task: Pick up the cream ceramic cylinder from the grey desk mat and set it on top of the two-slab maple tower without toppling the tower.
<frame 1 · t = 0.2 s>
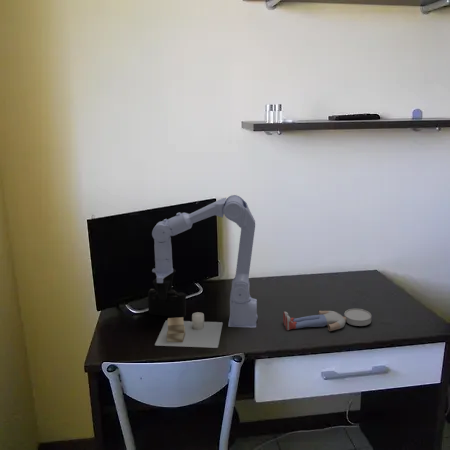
hand: (165, 294, 167), 10 cm above the table, tool pointing down, fingers open, 7 cm apart
slab bottom: (176, 338, 157), resting on mat, touching slab top
camera: (170, 312, 177), on the table
toy: (327, 325, 167), on the table
slab top: (176, 329, 157), point 3 cm above the table, touching slab bottom
mat: (190, 334, 161), on the table
cylinder: (198, 327, 165), resting on mat
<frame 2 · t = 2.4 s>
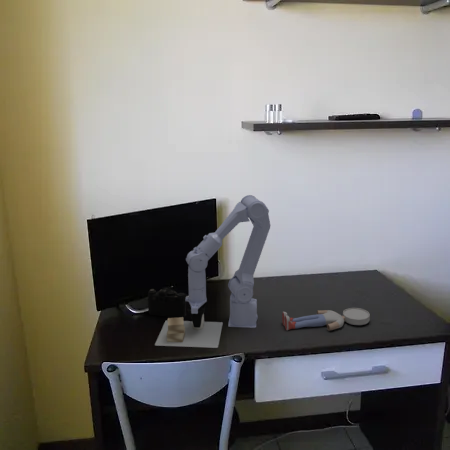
hand: (198, 323, 164), 2 cm above the table, tool pointing down, fingers closed on cylinder, 4 cm apart
cylinder: (198, 327, 165), resting on mat, touching gripper
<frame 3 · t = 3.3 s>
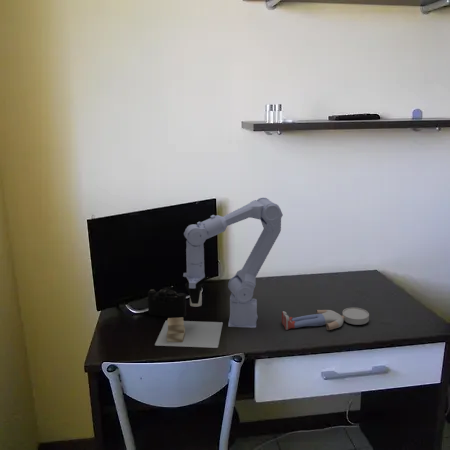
hand: (196, 300, 161), 10 cm above the table, tool pointing down, fingers closed on cylinder, 4 cm apart
cylinder: (195, 304, 162), point 9 cm above the table, touching gripper
when the fingers open (9 cm above the table, at t = 4.6 s): cylinder stays where it is, resting on slab top.
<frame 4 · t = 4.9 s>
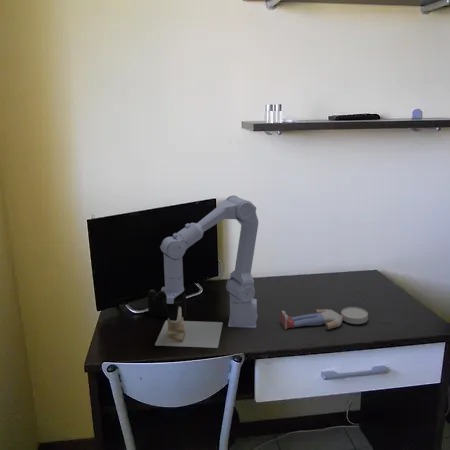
hand: (175, 315, 155), 9 cm above the table, tool pointing down, fingers open, 6 cm apart
slab top: (176, 329, 157), point 3 cm above the table, touching cylinder, slab bottom
cylinder: (175, 321, 156), point 6 cm above the table, touching slab top
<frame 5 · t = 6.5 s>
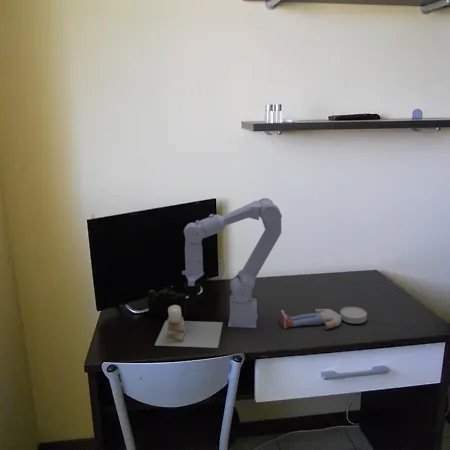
hand: (195, 297, 164), 10 cm above the table, tool pointing down, fingers open, 7 cm apart
cylinder: (175, 319, 155), point 7 cm above the table, tilted 17°, touching slab top
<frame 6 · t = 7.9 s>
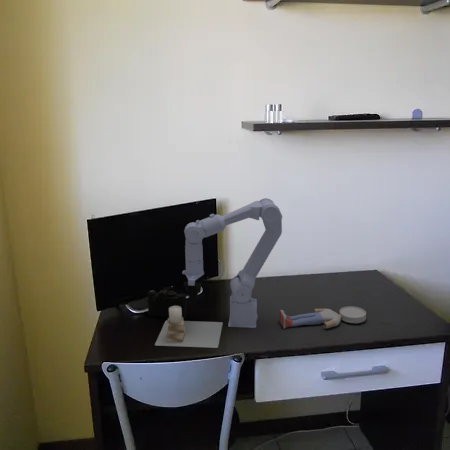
hand: (195, 297, 164), 10 cm above the table, tool pointing down, fingers open, 7 cm apart
cylinder: (175, 321, 156), point 6 cm above the table, touching slab top
at the end: cylinder 0.0 cm off-centre on the slab bottom, point 6.0 cm above the slab bottom's base; cylinder tilted 0°; slab top 0.0 cm off-centre on the slab bottom, point 3.0 cm above the slab bottom's base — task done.
